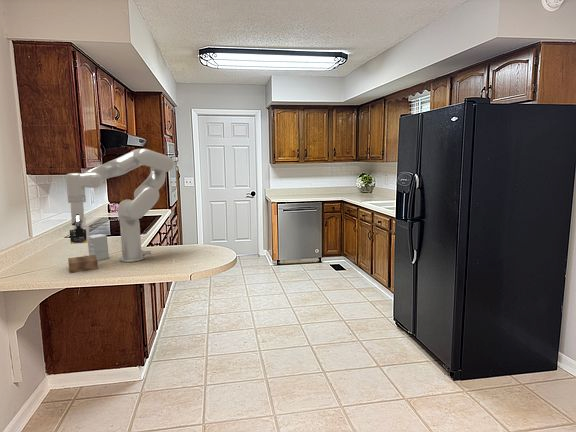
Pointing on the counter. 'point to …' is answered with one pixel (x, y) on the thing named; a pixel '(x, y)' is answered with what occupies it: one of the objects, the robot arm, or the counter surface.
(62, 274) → the counter surface
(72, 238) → the medicine bottle
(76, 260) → the walnut block
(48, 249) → the counter surface
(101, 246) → the supplement box
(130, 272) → the counter surface
